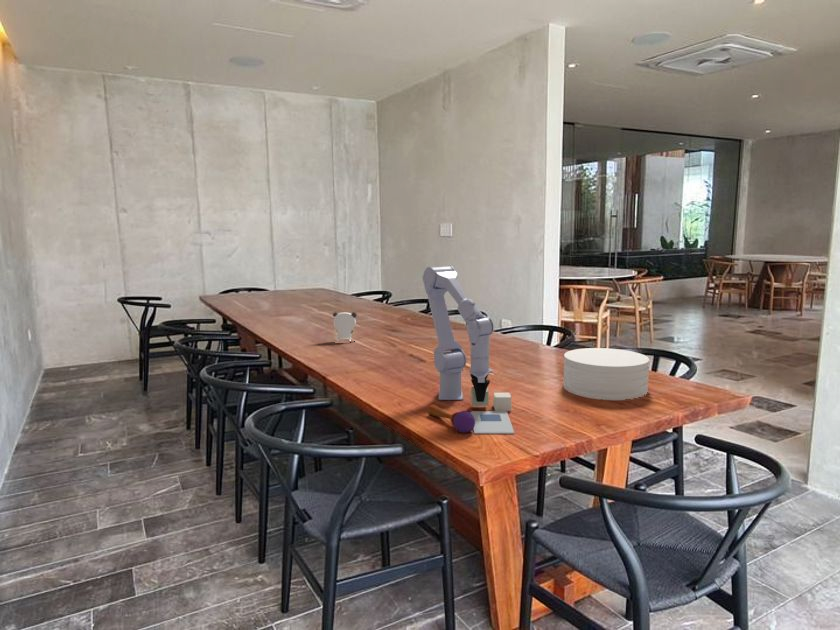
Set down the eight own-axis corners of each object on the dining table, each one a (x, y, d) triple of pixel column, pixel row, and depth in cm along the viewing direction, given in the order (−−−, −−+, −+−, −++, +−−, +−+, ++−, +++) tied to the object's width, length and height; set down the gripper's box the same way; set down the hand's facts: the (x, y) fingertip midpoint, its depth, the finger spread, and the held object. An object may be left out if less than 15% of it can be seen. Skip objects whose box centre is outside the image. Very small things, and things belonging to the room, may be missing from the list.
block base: (471, 400, 177) (471, 387, 176) (487, 400, 177) (487, 386, 176) (472, 405, 172) (472, 391, 171) (488, 405, 172) (488, 391, 171)
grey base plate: (470, 412, 171) (470, 411, 171) (506, 412, 170) (506, 411, 170) (474, 433, 153) (474, 432, 153) (514, 433, 153) (514, 432, 152)
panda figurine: (357, 339, 288) (357, 310, 285) (356, 343, 276) (355, 313, 274) (334, 339, 287) (333, 310, 285) (332, 344, 276) (331, 314, 274)
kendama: (441, 400, 171) (480, 413, 154) (439, 419, 171) (478, 435, 154) (425, 400, 168) (462, 413, 151) (423, 419, 168) (460, 435, 151)
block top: (493, 406, 177) (493, 392, 176) (509, 406, 177) (509, 392, 176) (494, 411, 172) (495, 397, 171) (511, 411, 172) (511, 397, 171)
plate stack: (547, 383, 202) (548, 352, 200) (609, 374, 212) (610, 345, 211) (598, 405, 177) (600, 370, 175) (666, 394, 187) (668, 361, 185)
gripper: (495, 362, 165) (494, 406, 167) (490, 351, 179) (490, 391, 181) (471, 362, 165) (471, 406, 167) (468, 351, 179) (468, 391, 181)
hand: (479, 398), depth 174 cm, fingers closed on block base, 5 cm apart
